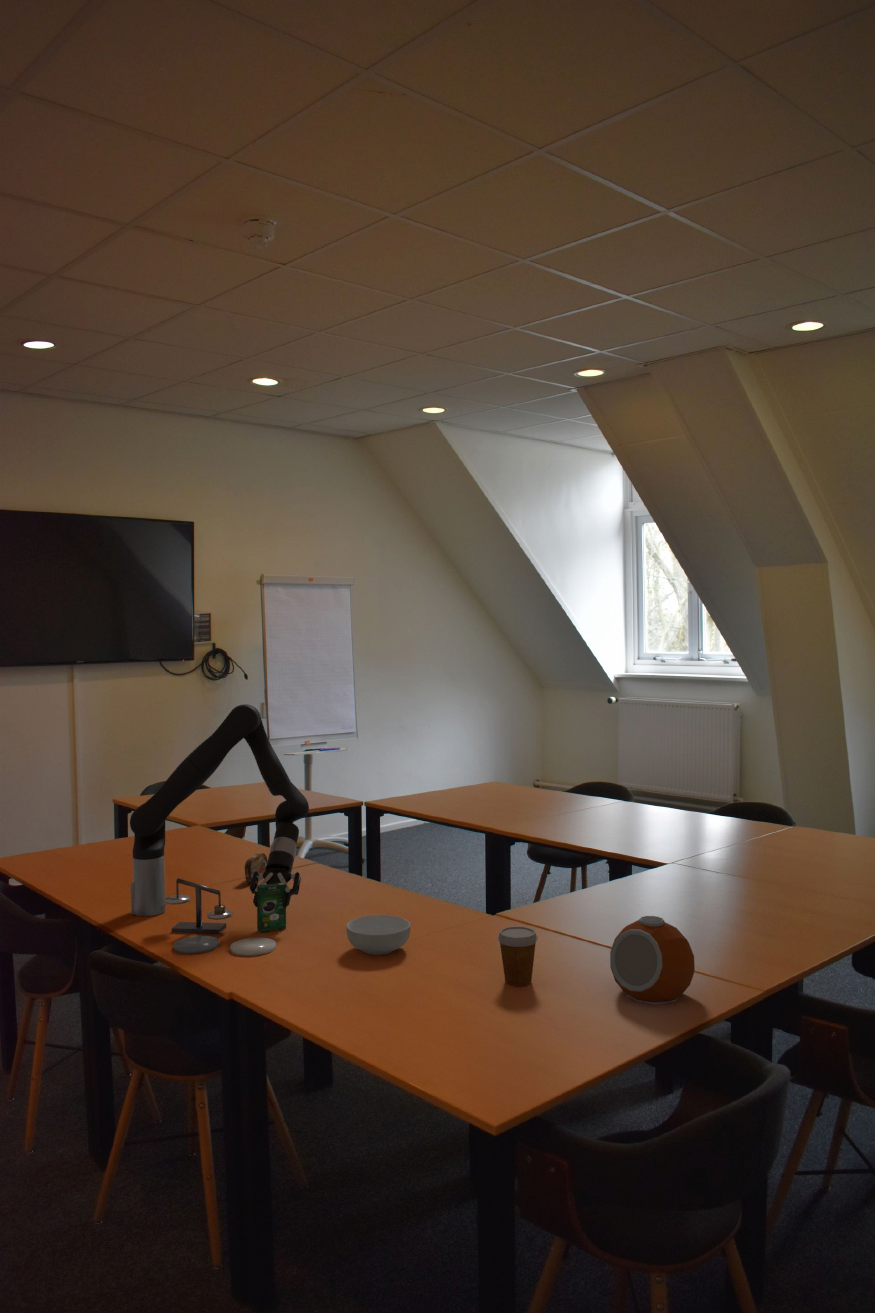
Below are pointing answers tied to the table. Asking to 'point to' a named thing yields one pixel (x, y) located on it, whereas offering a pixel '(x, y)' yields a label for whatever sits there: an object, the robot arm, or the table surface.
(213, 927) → the balance
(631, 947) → the alarm clock
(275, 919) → the coffee box
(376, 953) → the cereal bowl
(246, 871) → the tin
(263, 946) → the white dish
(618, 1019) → the table surface
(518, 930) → the disposable coffee cup
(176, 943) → the grey dish
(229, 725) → the robot arm
